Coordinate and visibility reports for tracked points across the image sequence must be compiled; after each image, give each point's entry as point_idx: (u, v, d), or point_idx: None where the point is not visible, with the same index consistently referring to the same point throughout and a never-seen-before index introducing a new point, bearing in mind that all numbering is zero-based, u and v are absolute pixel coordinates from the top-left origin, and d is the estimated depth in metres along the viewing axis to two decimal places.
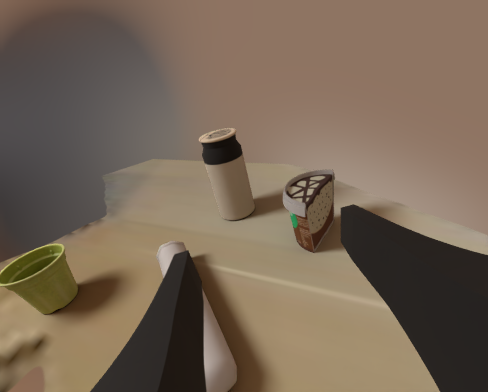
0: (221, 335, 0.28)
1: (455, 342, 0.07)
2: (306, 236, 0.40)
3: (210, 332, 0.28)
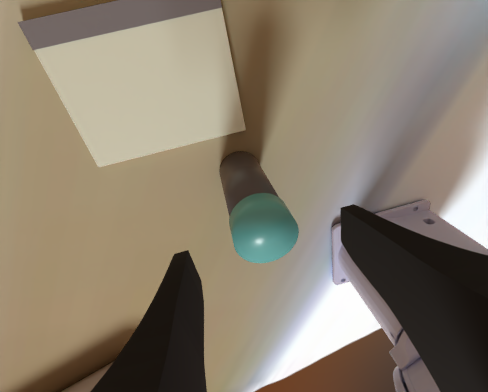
0: None
1: (455, 342, 0.07)
2: None
3: None
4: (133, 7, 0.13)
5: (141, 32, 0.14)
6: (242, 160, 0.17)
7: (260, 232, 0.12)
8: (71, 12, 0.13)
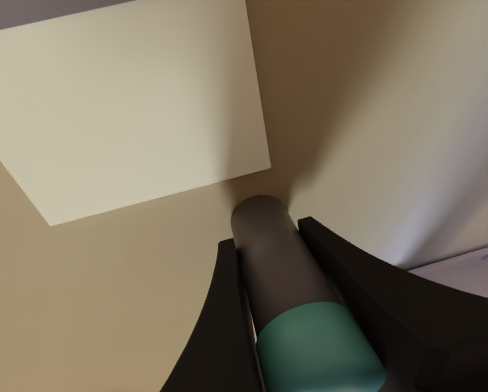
0: None
1: (385, 364, 0.07)
2: None
3: None
4: None
5: (105, 19, 0.08)
6: (267, 214, 0.11)
7: (320, 390, 0.06)
8: None
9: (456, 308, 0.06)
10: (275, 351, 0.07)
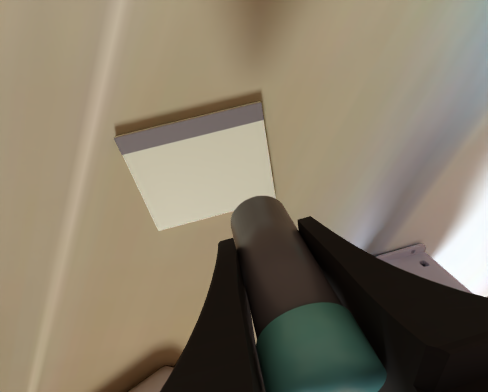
0: None
1: (385, 364, 0.07)
2: None
3: None
4: (198, 123, 0.17)
5: (202, 139, 0.18)
6: (266, 214, 0.11)
7: (320, 390, 0.06)
8: (153, 129, 0.17)
9: (456, 308, 0.06)
10: (275, 352, 0.07)
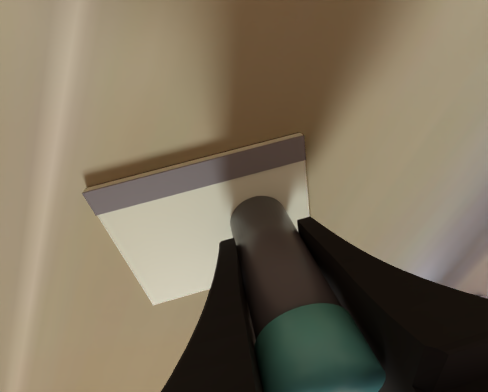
0: None
1: (384, 365, 0.07)
2: None
3: None
4: (210, 168, 0.11)
5: (215, 188, 0.12)
6: (266, 215, 0.11)
7: None
8: (142, 179, 0.11)
9: (454, 308, 0.06)
10: (273, 353, 0.07)
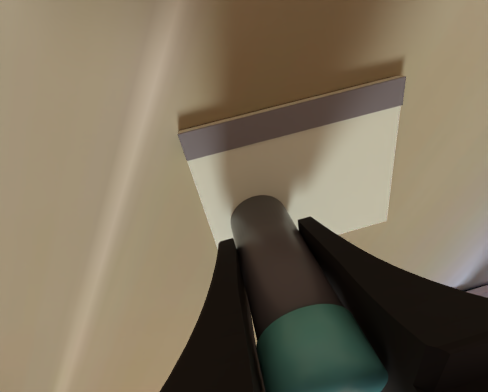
0: None
1: (385, 364, 0.07)
2: None
3: None
4: (308, 111, 0.11)
5: (308, 135, 0.12)
6: (267, 214, 0.11)
7: None
8: (239, 120, 0.11)
9: (456, 308, 0.06)
10: (276, 354, 0.07)
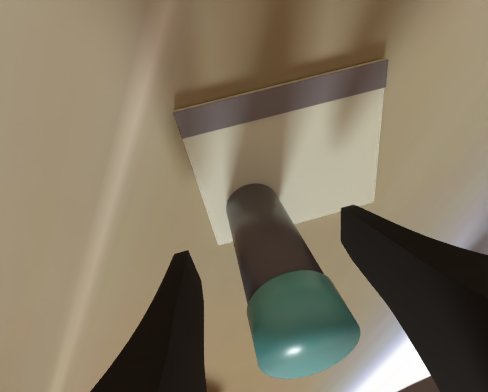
0: None
1: (455, 342, 0.07)
2: None
3: None
4: (296, 92, 0.12)
5: (296, 115, 0.12)
6: (259, 199, 0.12)
7: (301, 344, 0.07)
8: (231, 100, 0.11)
9: None
10: (262, 311, 0.08)
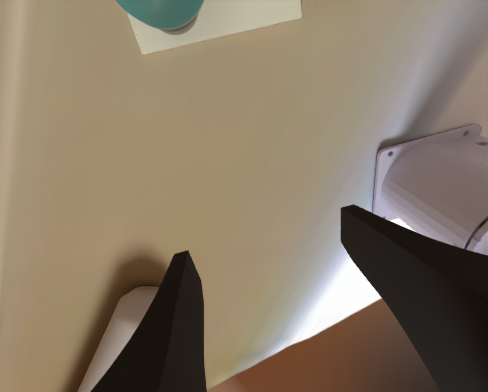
0: (107, 338, 0.23)
1: (455, 342, 0.07)
2: None
3: (115, 351, 0.23)
4: None
5: None
6: None
7: None
8: None
9: None
10: None
